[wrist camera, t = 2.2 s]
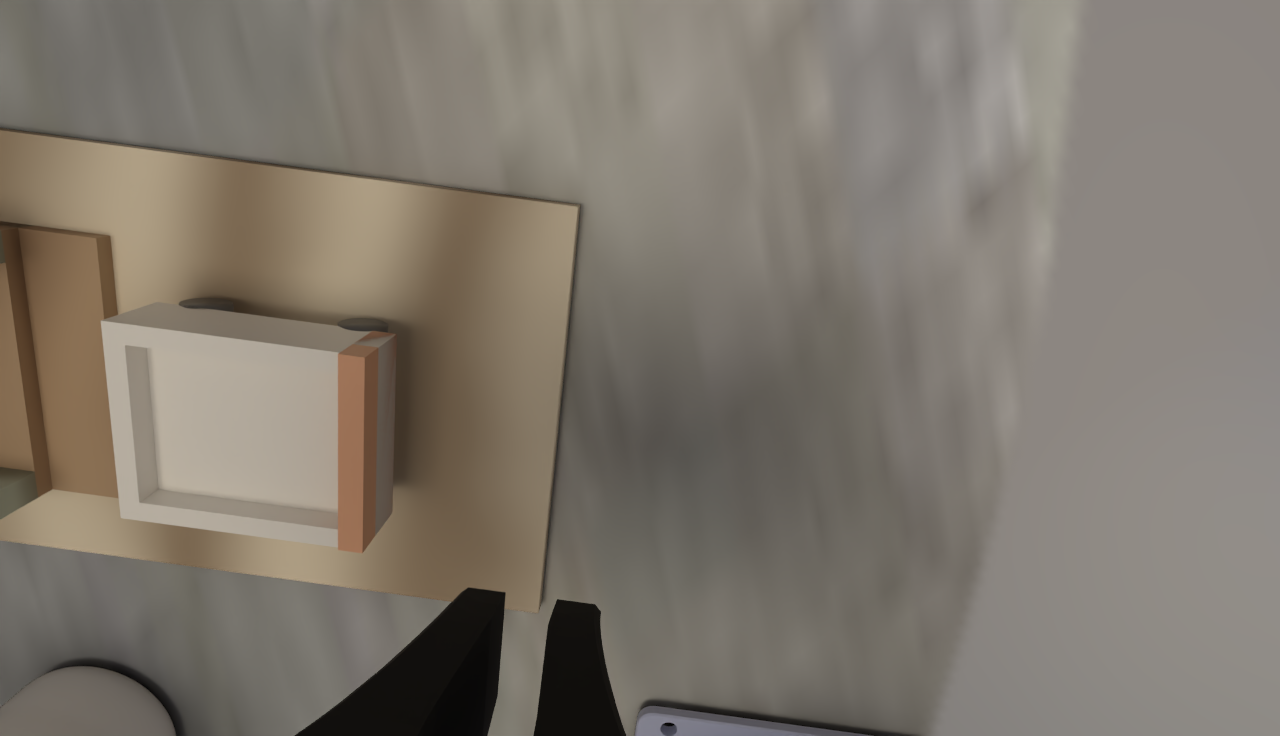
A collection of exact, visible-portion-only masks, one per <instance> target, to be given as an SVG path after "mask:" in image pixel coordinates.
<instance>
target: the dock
mask: <svg viewBox="0 0 1280 736" xmlns="http://www.w3.org/2000/svg"><path fill="white" fill-rule="evenodd" d="M579 215H580V205H578V204H571V203H563V202H555V201H548V200H540V199H533V198H525V197H518V196H510V195H503V194H495V193H488V192H480V191H472V190H465V189H457V188H450V187H442V186H435V185H427V184H420V183H412V182H404V181H397V180H389V179H382V178H374V177H367V176H359V175H352V174H344V173H336V172H329V171H321V170H314V169H306V168H299V167H291V166H284V165H276V164H268V163H261V162H253V161H246V160H238V159H231V158H223V157H216V156H208V155H201V154H193V153H185V152H178V151H170V150H163V149H155V148H148V147H140V146H133V145H125V144H117V143H110V142H102V141H95V140H87V139H80V138H72V137H65V136H57V135H49V134H42V133H34V132H27V131H19V130H12V129H4V128H0V540H2V541H10V542H17V543H24V544H32V545H39V546H46V547H54V548H61V549H68V550H76V551H83V552H91V553H98V554H105V555H113V556H120V557H127V558H135V559H142V560H149V561H157V562H164V563H171V564H179V565H186V566H193V567H201V568H208V569H216V570H223V571H230V572H238V573H245V574H252V575H260V576H267V577H274V578H282V579H289V580H296V581H304V582H311V583H318V584H326V585H333V586H341V587H348V588H355V589H363V590H370V591H377V592H385V593H392V594H399V595H407V596H414V597H421V598H429V599H436V600H444V601H451V602H452V601H453V600H454V599H455V598H456V597H457V596H458V595H459V594H460V593H461V592H462V591H464V590H465V589H467V588H468V587H470V588H477V589H485V590H492V591H500V592H506V596H505V608H504V609H510V610H517V611H524V612H532V613H539V609H540V606H541V600H542V590H543V580H544V570H545V560H546V550H547V540H548V529H549V519H550V509H551V499H552V489H553V479H554V469H555V458H556V448H557V438H558V428H559V418H560V408H561V398H562V388H563V377H564V367H565V357H566V347H567V337H568V327H569V317H570V306H571V296H572V286H573V276H574V266H575V256H576V246H577V235H578V225H579ZM192 298H221V299H226V300H229V301H232V302H233V304H234V312H236V313H244V314H251V315H259V316H266V317H274V318H281V319H289V320H296V321H304V322H311V323H319V324H326V325H334V326H338V322H340V321H342V320H345V319H351V318H370V319H377V320H381V321H384V322H386V323H387V324H388V333H393V334H397V349H396V389H395V428H394V468H393V508H392V514H391V516H390V517H389V518H388V520H387V521H386V522H385V524H384V525H383V526H382V528H381V529H380V530H379V532H378V533H377V534H376V536H375V537H374V538H373V540H372V541H371V543H370V544H369V545H368V547H367V548H366V549H365V551H364V552H363V553H356V552H349V551H341V550H338V548H337V547H330V546H322V545H315V544H308V543H300V542H293V541H285V540H278V539H271V538H263V537H256V536H249V535H241V534H234V533H226V532H219V531H212V530H204V529H197V528H190V527H182V526H175V525H167V524H160V523H153V522H145V521H138V520H131V519H123V518H121V516H120V506H119V497H118V487H117V477H116V467H115V457H114V447H113V438H112V428H111V418H110V408H109V398H108V388H107V379H106V369H105V359H104V349H103V339H102V329H101V320H104V319H107V318H110V317H113V316H116V315H119V314H122V313H125V312H128V311H131V310H134V309H137V308H140V307H143V306H146V305H149V304H152V303H155V302H162V303H169V304H177V305H179V302H181V301H183V300H186V299H192Z"/></svg>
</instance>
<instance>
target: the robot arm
mask: <svg viewBox="0 0 1280 736" xmlns="http://www.w3.org/2000/svg"><path fill="white" fill-rule="evenodd" d="M505 596H506V592H500V591H492V590H485V589H477V588H470V587H468V588H467V589H465V590H464V591H462V592H461V593H460V594H459V595H458V596H457V597H456V598H455V599H454V600H453V601H452V602H451V603H450V604H449V605H448V606H447V607H446V608H445V609H444V611H443V612H442V613H441V614H440V615H439V616H438V617H437V618H436V619H435V620H434V621H433V622H432V623H430V624H429V625H428V626H427V627H426V628H425V629H424V630H423V631H422V632H421V633H420V634H419V635H418V636H417V637H416V638H415V639H414V640H413V641H412V642H410V643H409V644H408V645H407V646H406V647H405V648H404V649H403V650H402V651H401V652H399V653H398V654H397V655H396V656H395V657H394V658H393V659H392V660H391V661H390V662H388V663H387V664H386V665H385V666H384V667H383V668H382V669H381V670H379V671H378V672H377V673H376V674H375V675H373V676H372V677H371V678H370V679H368V680H367V681H366V682H365V683H364V684H362V685H361V686H360V687H359V688H357V689H356V690H355V691H354V692H352V693H351V694H350V695H349V696H348V697H346V698H345V699H344V700H343V701H341V702H340V703H339V704H338V705H336V706H335V707H334V708H332V709H331V710H330V711H328V712H327V713H326V714H324V715H323V716H322V717H320V718H319V719H317V720H316V721H315V722H313V723H312V724H311V725H309V726H308V727H306V728H305V729H303V730H302V731H300V732H299V733H298V734H296V735H295V736H487V734H488V731H489V727H490V723H491V719H492V715H493V711H494V707H495V703H496V699H497V694H498V682H499V670H500V657H501V645H502V633H503V620H504V608H505ZM600 615H601V611H600V610H599V609H598V608H597V606H596V605H595V604H588V603H581V602H573V601H566V600H558V599H557V601H556V604H555V607H554V609H553V612H552V615H551V618H550V621H549V624H548V631H547V639H546V648H545V656H544V664H543V672H542V681H541V689H540V697H539V705H538V714H537V720H536V726H535V731H534V736H626V734H625V731H624V728H623V725H622V723H621V719H620V716H619V713H618V710H617V707H616V703H615V699H614V696H613V692H612V688H611V684H610V681H609V677H608V673H607V668H606V664H605V658H604V653H603V647H602V640H601V630H600ZM668 722H670V723H673V724H675V725H673V726H665V725H663V724H664V723H668ZM634 736H872V735H864V734H857V733H850V732H842V731H835V730H828V729H820V728H813V727H806V726H798V725H791V724H784V723H776V722H769V721H762V720H755V719H747V718H740V717H733V716H725V715H718V714H711V713H703V712H696V711H689V710H681V709H674V708H667V707H659V706H648V707H645V708H643V709H642V710H641V711H640V712H639V714H638V716H637V722H636V729H635V735H634Z"/></svg>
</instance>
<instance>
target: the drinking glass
mask: <svg viewBox="0 0 1280 736" xmlns="http://www.w3.org/2000/svg"><path fill="white" fill-rule="evenodd" d="M0 736H176V732H175V728H174V725H173V722H172V720H171V718H170V716H169V714H168V712H167V711H166V709H165V708H164V706H163V705H162V704H161V702H160V701H159V700H158V699H157V698H156V697H155V696H154V695H153V694H152V693H151V692H150V691H149V690H148V689H146V688H145V687H144V686H142V685H141V684H139V683H138V682H136V681H135V680H133V679H131V678H129V677H127V676H125V675H123V674H120V673H117V672H115V671H112V670H108V669H104V668H99V667H92V666H72V667H66V668H61V669H57V670H54V671H51V672H48V673H46V674H44V675H42V676H40V677H38V678H36V679H35V680H33V681H32V682H30V683H29V684H27V685H26V686H25V687H24V688H22V689H21V690H20V691H19V692H18V693H16V694H15V695H14V696H13V697H12V698H11V699H9V700H8V701H7V702H6V703H5V704H3V705H2V706H1V707H0Z"/></svg>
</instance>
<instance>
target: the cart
mask: <svg viewBox="0 0 1280 736" xmlns="http://www.w3.org/2000/svg"><path fill="white" fill-rule="evenodd" d="M101 329H102V339H103V349H104V359H105V369H106V379H107V388H108V398H109V408H110V418H111V428H112V438H113V447H114V457H115V467H116V477H117V487H118V497H119V506H120V516H121V518H123V519H131V520H138V521H145V522H153V523H160V524H167V525H175V526H182V527H190V528H197V529H204V530H212V531H219V532H226V533H234V534H241V535H249V536H256V537H263V538H271V539H278V540H285V541H293V542H300V543H308V544H315V545H322V546H330V547H337V548H338V550H341V551H349V552H356V553H363V552H364V551H365V549H366V548H367V547H368V545H369V544H370V543H371V541H372V540H373V538H374V537H375V536H376V534H377V533H378V532H379V530H380V529H381V528H382V526H383V525H384V524H385V522H386V521H387V520H388V518H389V517H390V516H391V514H392V508H393V468H394V428H395V389H396V349H397V334H393V333H388V324H387V323H386V322H384V321H381V320H377V319H370V318H351V319H345V320H342V321H340V322H338V326H334V325H326V324H319V323H311V322H304V321H296V320H289V319H281V318H274V317H266V316H259V315H251V314H244V313H236V312H234V304H233V302H232V301H229V300H226V299H221V298H192V299H186V300H183V301H181V302H179V305H177V304H169V303H162V302H155V303H152V304H149V305H146V306H143V307H140V308H137V309H134V310H131V311H128V312H125V313H122V314H119V315H116V316H113V317H110V318H107V319H104V320H101Z"/></svg>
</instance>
